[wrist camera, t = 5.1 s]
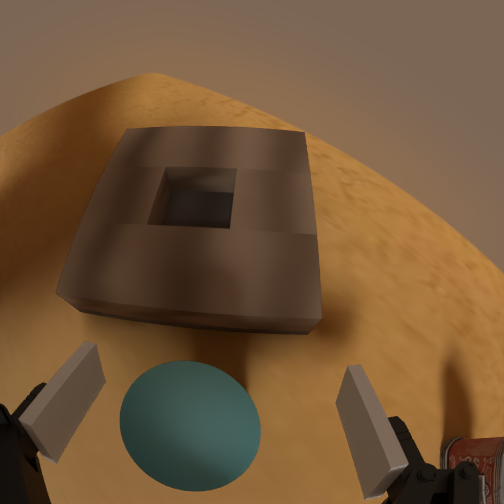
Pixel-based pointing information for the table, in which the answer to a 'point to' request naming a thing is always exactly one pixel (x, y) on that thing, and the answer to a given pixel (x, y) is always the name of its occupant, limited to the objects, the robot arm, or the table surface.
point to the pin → (190, 426)
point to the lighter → (479, 463)
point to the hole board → (201, 232)
